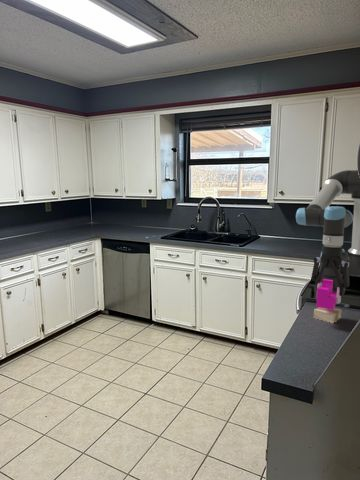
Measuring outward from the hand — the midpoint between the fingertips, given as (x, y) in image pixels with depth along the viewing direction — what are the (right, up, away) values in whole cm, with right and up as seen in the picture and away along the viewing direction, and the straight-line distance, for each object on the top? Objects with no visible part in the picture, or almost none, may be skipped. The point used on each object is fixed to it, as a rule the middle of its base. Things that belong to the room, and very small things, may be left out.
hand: (328, 300), depth 143 cm
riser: (0, -9, +2) cm, 9 cm away
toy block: (-1, -1, -2) cm, 2 cm away
